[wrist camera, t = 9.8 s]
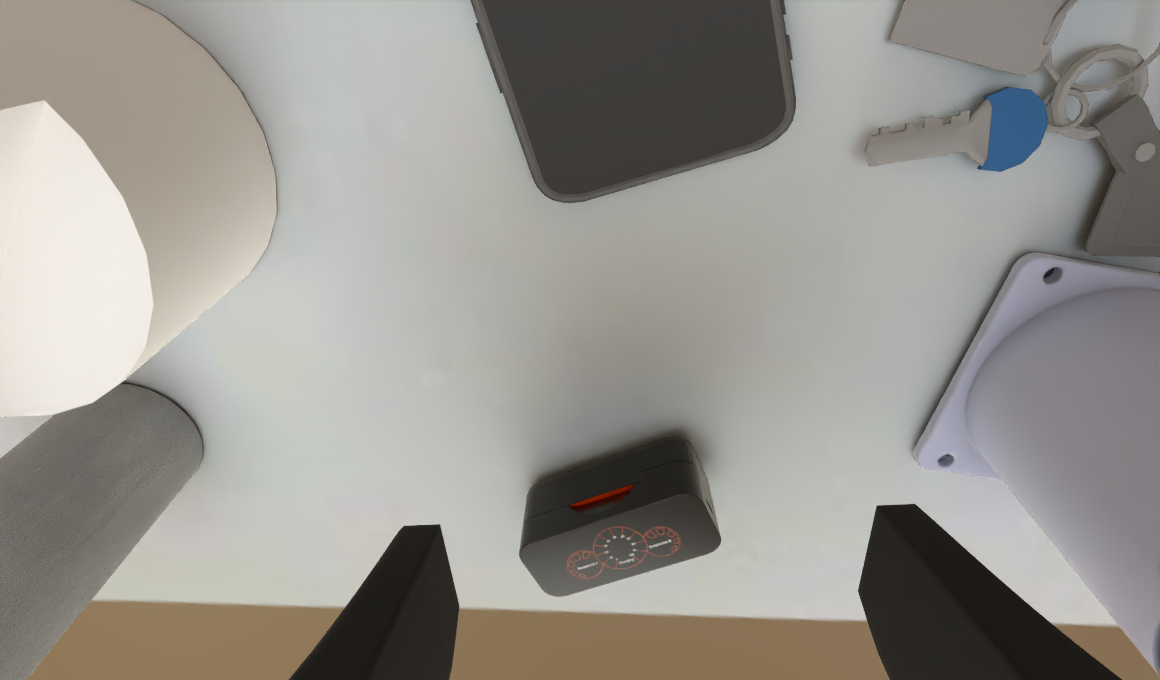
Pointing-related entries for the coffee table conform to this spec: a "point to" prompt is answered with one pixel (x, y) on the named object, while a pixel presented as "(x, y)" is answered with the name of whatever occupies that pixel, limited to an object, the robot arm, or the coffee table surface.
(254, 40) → the coffee table surface
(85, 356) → the cylinder with rectangular tab
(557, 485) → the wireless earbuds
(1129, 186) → the key chain
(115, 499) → the grey cylindrical tube
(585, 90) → the smartphone
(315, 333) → the coffee table surface
